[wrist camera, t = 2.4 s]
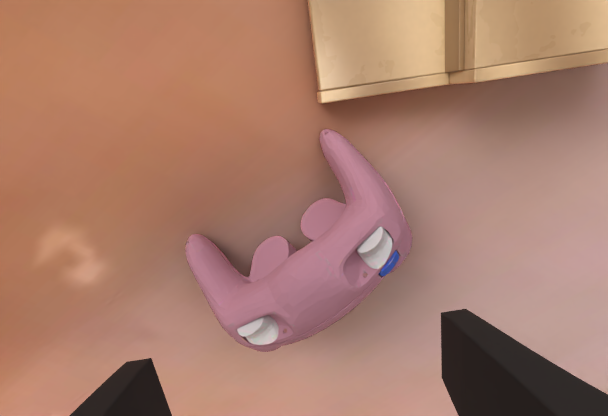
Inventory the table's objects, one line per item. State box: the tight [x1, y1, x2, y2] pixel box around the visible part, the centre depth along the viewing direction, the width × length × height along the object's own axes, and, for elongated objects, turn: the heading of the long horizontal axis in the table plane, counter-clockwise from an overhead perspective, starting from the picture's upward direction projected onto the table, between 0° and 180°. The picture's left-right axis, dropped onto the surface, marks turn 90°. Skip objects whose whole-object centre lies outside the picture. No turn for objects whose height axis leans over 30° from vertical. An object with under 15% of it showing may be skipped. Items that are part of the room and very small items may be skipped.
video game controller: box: [185, 129, 412, 352], centre depth 15 cm, size 10×5×7 cm, turn 128°
